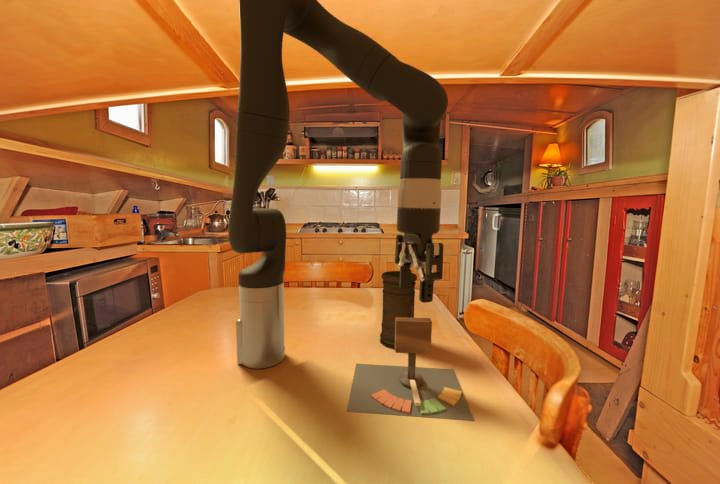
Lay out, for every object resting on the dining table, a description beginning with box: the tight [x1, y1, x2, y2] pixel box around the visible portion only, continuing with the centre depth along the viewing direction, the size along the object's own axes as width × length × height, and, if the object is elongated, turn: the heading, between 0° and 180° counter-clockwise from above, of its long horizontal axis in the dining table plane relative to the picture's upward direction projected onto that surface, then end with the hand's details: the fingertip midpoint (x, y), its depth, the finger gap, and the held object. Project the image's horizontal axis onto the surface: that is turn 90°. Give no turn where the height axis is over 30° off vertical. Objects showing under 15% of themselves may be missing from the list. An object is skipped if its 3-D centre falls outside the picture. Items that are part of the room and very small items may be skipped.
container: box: [379, 270, 418, 350], centre depth 74 cm, size 9×9×18 cm
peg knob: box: [394, 317, 433, 406], centre depth 53 cm, size 10×6×12 cm, turn 178°
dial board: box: [346, 363, 475, 422], centre depth 55 cm, size 20×15×2 cm
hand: (414, 294), depth 56 cm, fingers open, 8 cm apart
